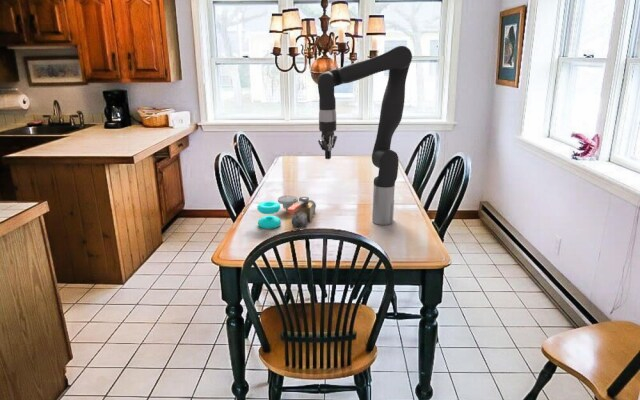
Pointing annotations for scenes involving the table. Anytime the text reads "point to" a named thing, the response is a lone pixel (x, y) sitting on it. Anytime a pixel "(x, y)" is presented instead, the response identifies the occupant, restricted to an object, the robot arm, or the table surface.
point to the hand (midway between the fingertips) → (328, 158)
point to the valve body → (304, 215)
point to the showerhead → (287, 201)
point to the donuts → (269, 208)
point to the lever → (298, 205)
